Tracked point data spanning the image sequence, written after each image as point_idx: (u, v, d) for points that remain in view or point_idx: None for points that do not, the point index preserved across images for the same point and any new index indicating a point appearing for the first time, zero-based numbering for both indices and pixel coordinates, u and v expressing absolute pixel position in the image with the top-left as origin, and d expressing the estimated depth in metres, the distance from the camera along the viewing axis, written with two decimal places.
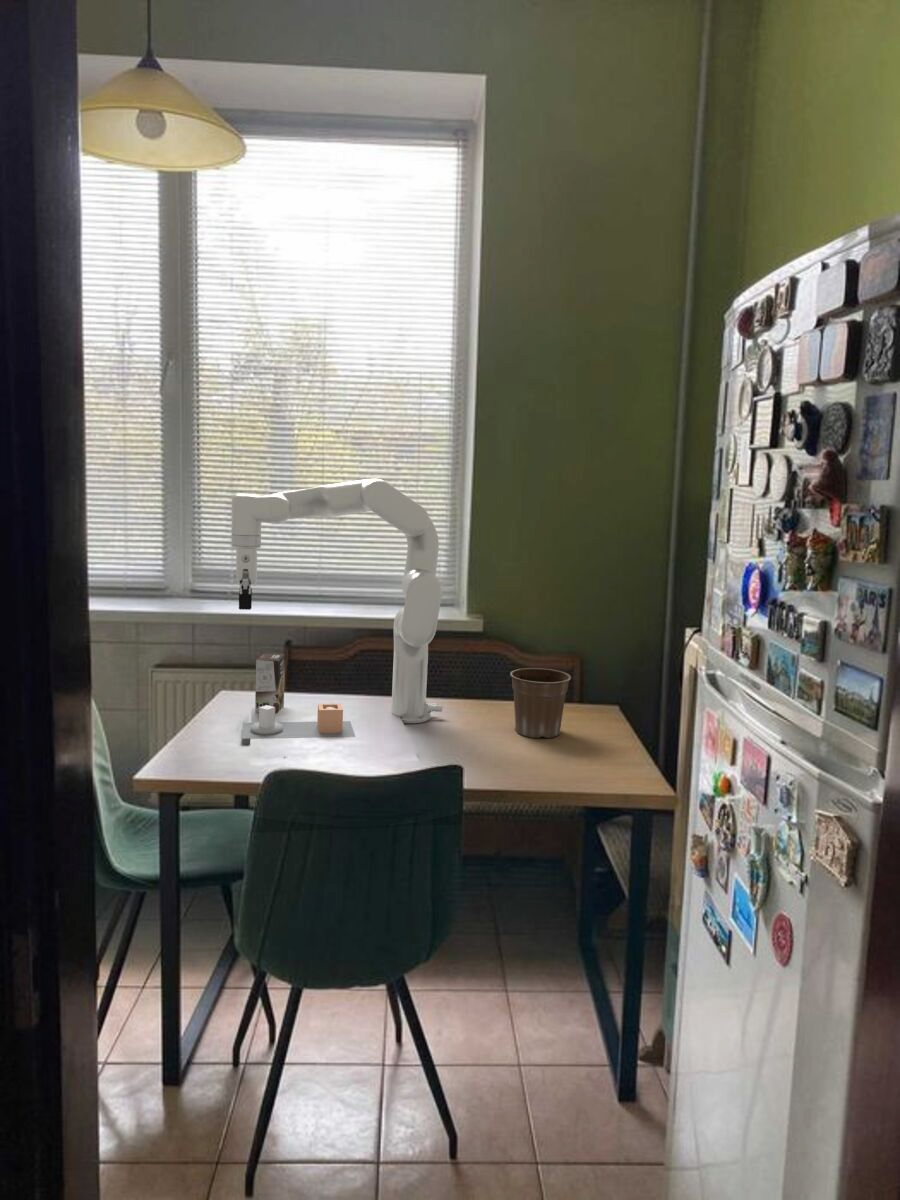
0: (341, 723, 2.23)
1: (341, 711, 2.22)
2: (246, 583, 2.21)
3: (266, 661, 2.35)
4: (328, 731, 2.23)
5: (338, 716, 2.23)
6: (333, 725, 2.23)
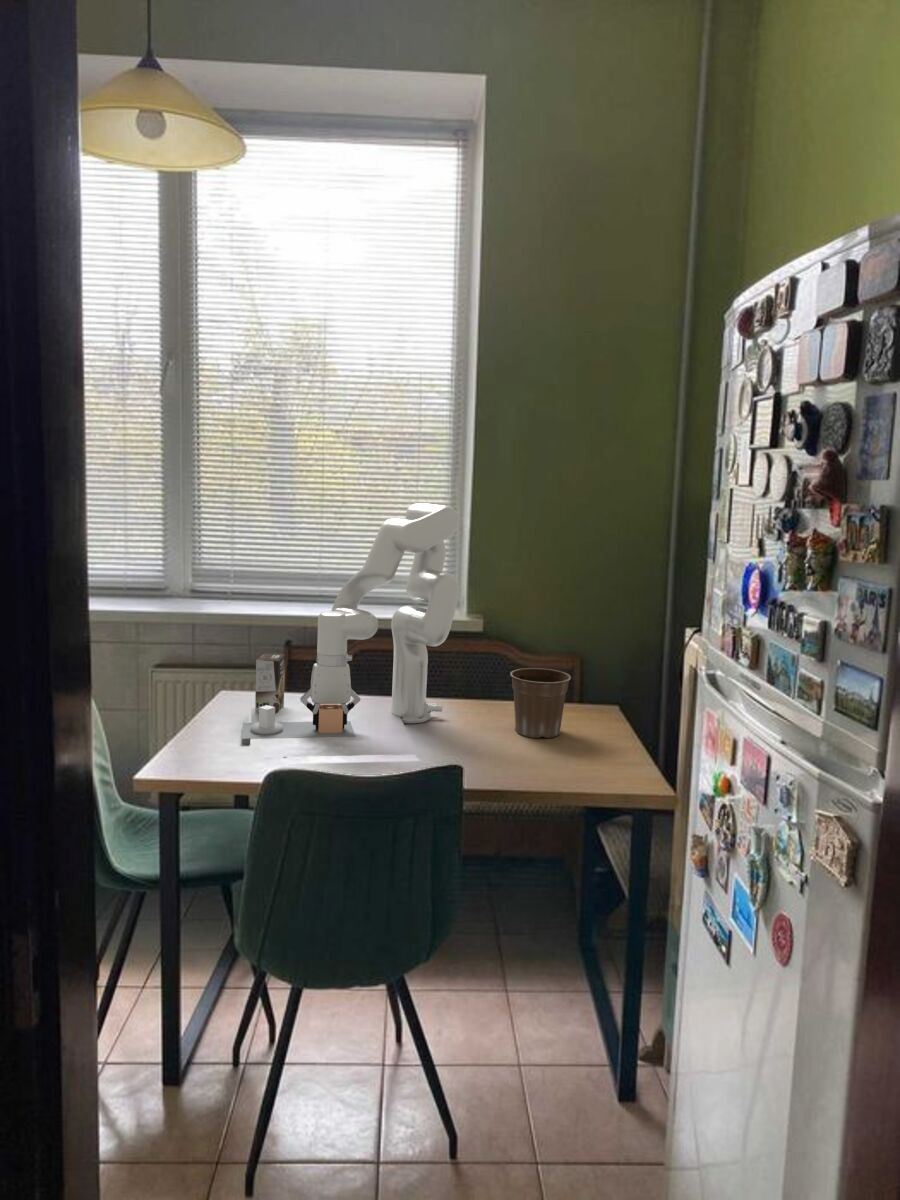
0: (341, 723, 2.23)
1: (341, 711, 2.22)
2: None
3: (266, 661, 2.35)
4: (328, 731, 2.23)
5: (338, 716, 2.23)
6: (333, 725, 2.23)
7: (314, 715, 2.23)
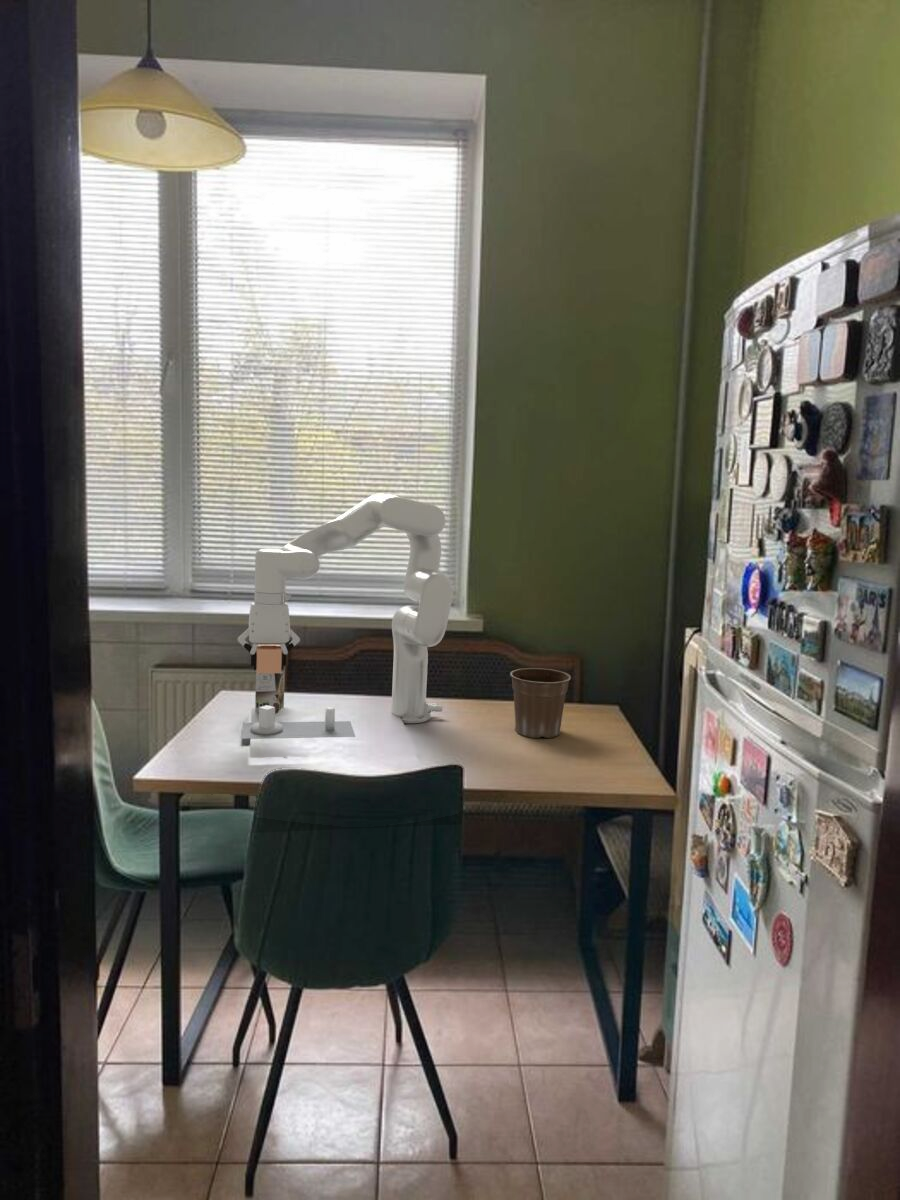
0: (280, 663, 2.17)
1: (280, 651, 2.17)
2: None
3: None
4: (266, 672, 2.17)
5: (277, 656, 2.17)
6: (272, 666, 2.17)
7: (252, 656, 2.17)
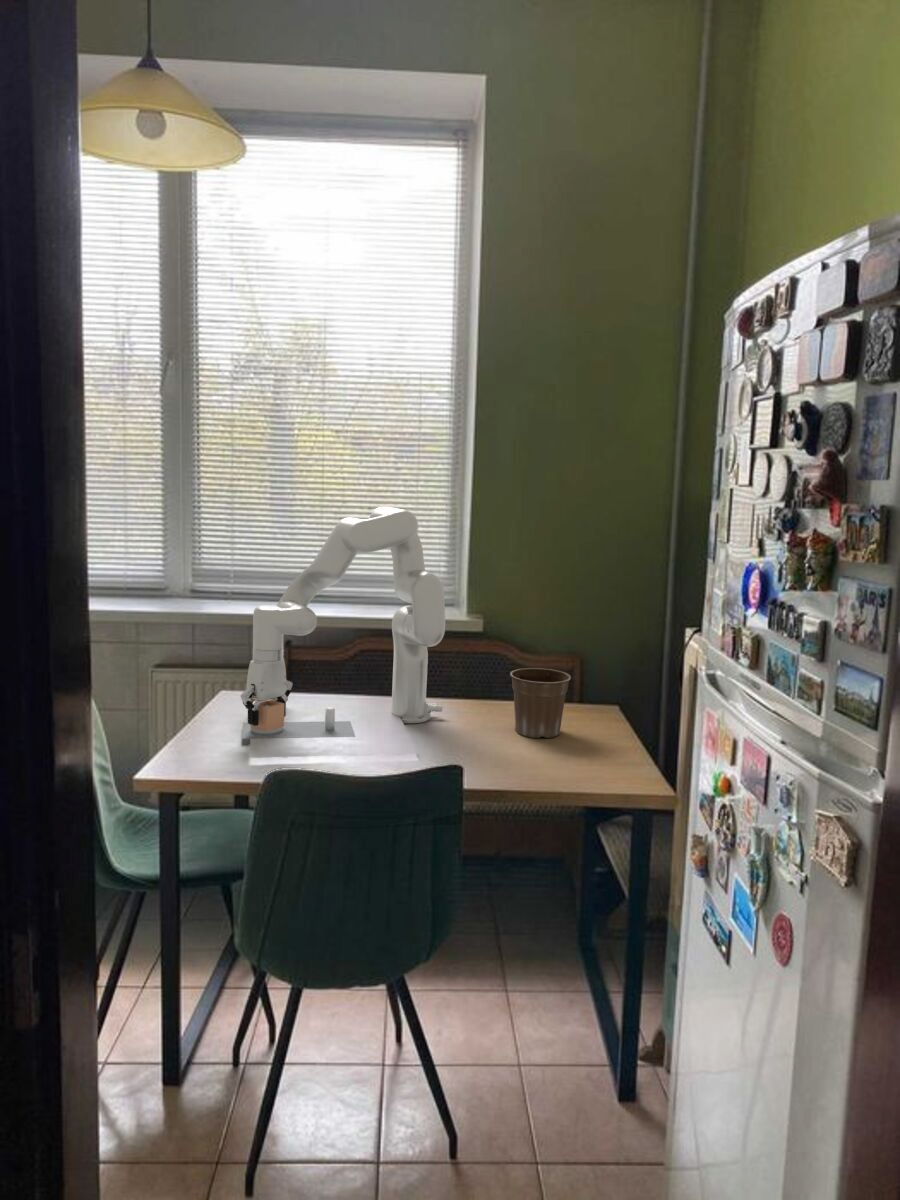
0: (283, 717, 2.22)
1: (283, 705, 2.22)
2: None
3: None
4: (274, 728, 2.20)
5: (281, 711, 2.21)
6: (278, 721, 2.21)
7: (253, 712, 2.16)
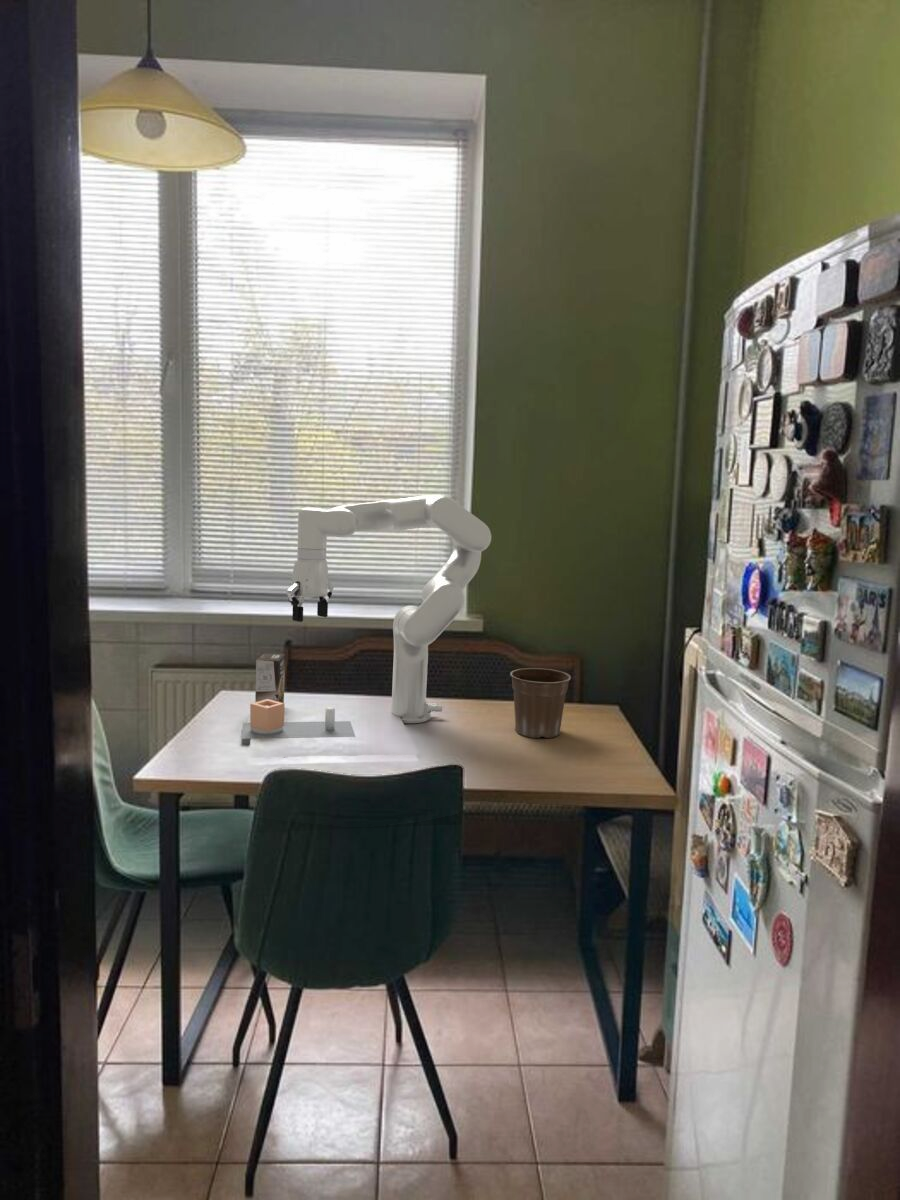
0: (283, 717, 2.22)
1: (283, 705, 2.22)
2: None
3: (266, 661, 2.35)
4: (274, 728, 2.20)
5: (281, 711, 2.21)
6: (278, 721, 2.21)
7: (298, 608, 2.26)
